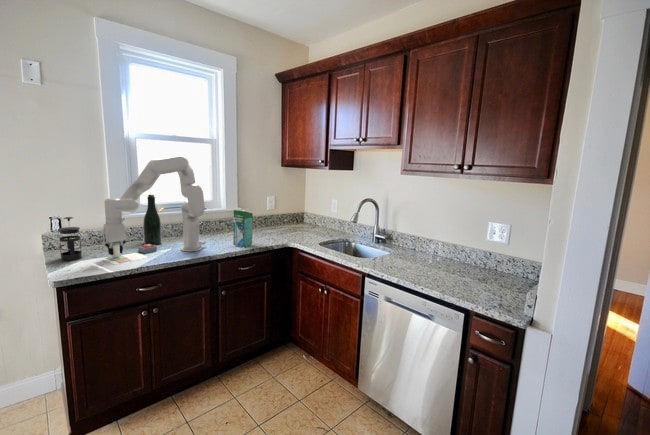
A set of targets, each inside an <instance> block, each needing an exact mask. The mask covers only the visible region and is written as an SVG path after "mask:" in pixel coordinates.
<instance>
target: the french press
mask: <svg viewBox="0 0 650 435" xmlns="http://www.w3.org/2000/svg"><path fill="white" fill-rule="evenodd" d="M71 219H74V216H73V217H72V216H68V217H63V220H67V222H68V223H67V224H68V226H67V227H66V226H65V227H60V228H58V231H59V233H60V234H61V235H63V236H61V237H59V238H58V239H59V240H58V241H59V251H60V261H62V262H73V261H74V262H75V261H79V260H82V259H83V255H82V240H81V236H80V235H73V234H77V233H80V229H81V228H80V227H78V226H70V221H71ZM64 235H66V236H64ZM77 241H79V245H75V242H77ZM61 242H65V243H66V242H67V246H62V244H61ZM78 249H80V250H78ZM62 251H64V252H62Z"/></svg>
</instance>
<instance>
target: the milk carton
mask: <svg viewBox="0 0 650 435" xmlns="http://www.w3.org/2000/svg"><path fill="white" fill-rule="evenodd" d="M253 215H254V214H253V212H249V210H248V209H242V210H236V209H233V245H235V246H234V247H238V246H241V247H240V248H243V247H244V248H246V247H245V246H247V247H249V246H248V245H251V244H252V245H253V218H254V216H253ZM233 245H232V246H233ZM252 245H251V246H252Z"/></svg>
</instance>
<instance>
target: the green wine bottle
mask: <svg viewBox="0 0 650 435" xmlns="http://www.w3.org/2000/svg"><path fill="white" fill-rule="evenodd" d="M161 222H162V221H161V217H160V215H159V212H158V210H157V207H156V197H155V194H148V196H147V209H146V212H145V215H144V218H143V222H142V223H143V230H142V231H143V245H145V244H151V245H153V246H157V245H160V244H161V243H162V227H161V226H162V224H161Z"/></svg>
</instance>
